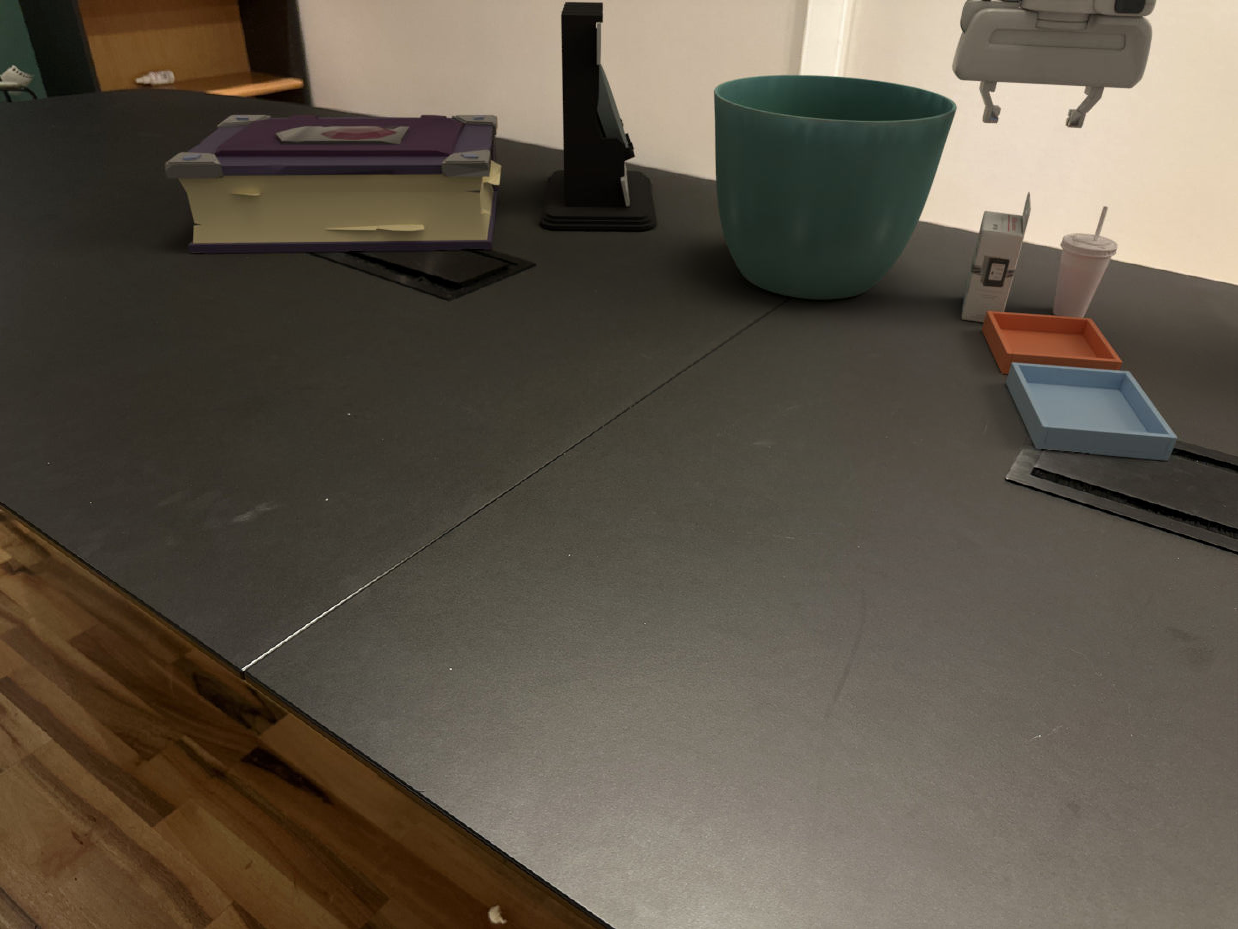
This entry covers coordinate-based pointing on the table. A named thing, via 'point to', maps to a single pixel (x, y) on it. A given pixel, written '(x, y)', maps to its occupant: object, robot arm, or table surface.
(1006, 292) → the ink box
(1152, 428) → the blue tray
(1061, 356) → the terracotta tray
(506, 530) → the table surface
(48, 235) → the table surface
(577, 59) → the award
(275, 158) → the book
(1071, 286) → the smoothie
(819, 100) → the flower pot
